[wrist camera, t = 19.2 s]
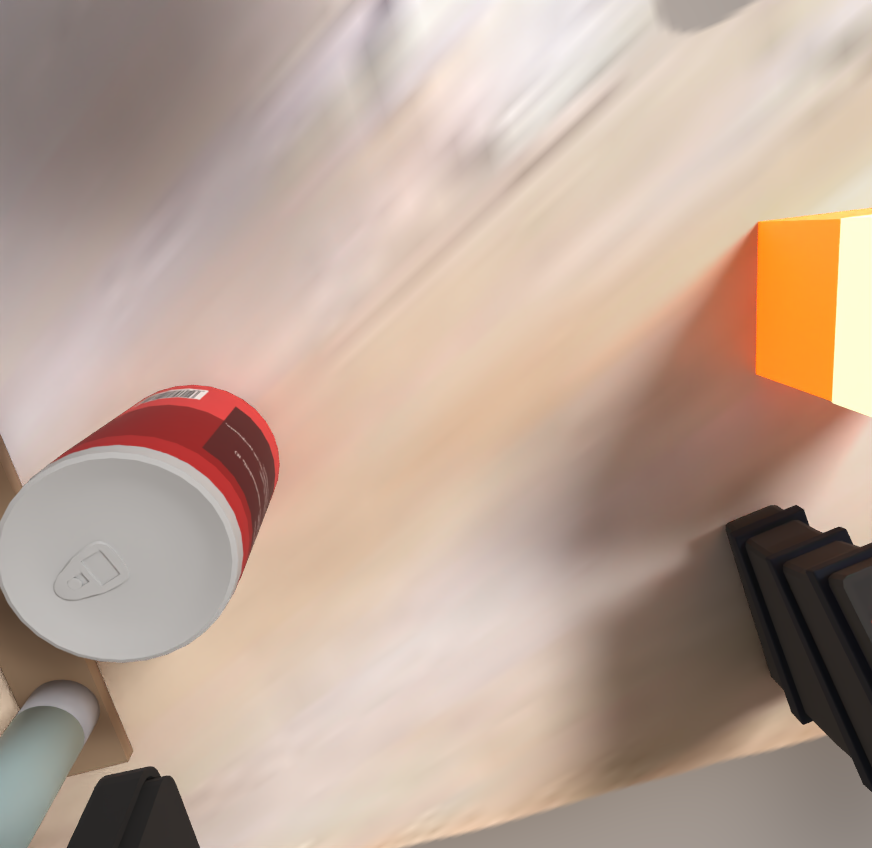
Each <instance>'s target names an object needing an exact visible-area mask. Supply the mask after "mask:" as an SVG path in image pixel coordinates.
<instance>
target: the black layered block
mask: <svg viewBox="0 0 872 848" xmlns="http://www.w3.org/2000/svg"><path fill="white" fill-rule="evenodd" d="M726 532H727V535H728V538H729V541H730V545H731V548H732V551H733V554H734V558H735V561H736V564H737V567H738V570H739V574H740V577H741V580H742V583H743V587H744V590H745V593H746V596H747V600H748V603H749V606H750V609H751V613H752V616H753V619H754V622H755V625H756V629H757V632H758V635H759V638H760V642H761V645H762V648H763V651H764V655H765V658H766V661H767V664H768V668H769V671H770V674H771V677H772V678H773V679H774V680H775V681H776V682H777V683H778V684H779V685H780V686H781V687H782V688H783V690H784V692H785V695H786V698H787V701H788V703H789V706H790V709H791V712H792V713H793V714H794V716H795V717H796V718H797V719H798V720H799V721H800V722H801V723H802V724H803V725H804V724H807V723H809V722H811V721H814V722H815V723H816V724H817V725H818V726H819V727H820V728H821V729H822V730H823V731H824V732H825V733H826V734H827V735H828V736H829V737H830V738H831V739H832V740H833V741H834V742H835V743H836V744H837V745H838V746H839V747H840V748H841V749H842V750H844V751H845V752H846V753H847V754H848V755H849V756H850V757H851V758H852V759H853V762H854V764H855V766H856V769H857V771H858V773H859V776H860V778H861V780H862V783H863V784H864V785H865V786H866V787H867V788H868V789H869V790H870V791H871V792H872V543H870V544H867V545H865V546H863V547H858V546H855V545H853V543H852V541H851V539H850V536H849V534H848V532H847V530H846V529H845V528H842V527H837V528H834V529H832V530H830V531H827V532H825V533H822V532H820V531H818V530H815V529H814V528H812V527H810V526H809V524H808V521H807V518H806V515H805V512H804V510H803V509H802V508H800V507H799V506H797V505H795V506H792V507H790V508H788V509H785V510H783V509H781V508H780V507H778V506H776V505H772V506H768V507H766V508H763V509H761V510H759V511H756V512H754V513H751V514H749V515H747V516H744V517H742V518H739V519H737V520H735V521H732V522H730V523H728V524H727V525H726Z"/></svg>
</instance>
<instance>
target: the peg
mask: <svg viewBox="0 0 872 848" xmlns="http://www.w3.org/2000/svg"><path fill="white" fill-rule="evenodd" d="M99 715H100V706H99V703H98V700H97V698H96V696H95V695H94V694H93V693H92V691H91V690H89V689H88V688H87V687H85V686H84V685H82V684H80V683H78V682H75V681H71V680H53V681H49V682H46V683H44V684H42V685H40V686H39V687H38V688H36V689H35V690H34V692H33V693H32V694H31V696H30V697H29V698H28V700H27V701H26V702H25V704H24V705H23V707H22V708H21V709H20V711H19V712H18V713H17V715H16V716H15V717H14V719H13V720H12V722H11V723H10V724H9V726H8V727H7V728H6V730H5V731H4V733H3V734H2V735H1V737H0V848H27V847H28V846H29V844H30V842H31V840H32V838H33V837H34V835H35V833H36V831H37V829H38V827H39V826H40V824H41V822H42V820H43V818H44V817H45V815H46V813H47V811H48V809H49V808H50V806H51V804H52V802H53V800H54V799H55V797H56V795H57V793H58V791H59V790H60V788H61V786H62V784H63V782H64V781H65V779H66V777H67V775H68V773H69V771H70V770H71V768H72V766H73V764H74V762H75V761H76V759H77V757H78V755H79V753H80V752H81V750H82V748H83V746H84V744H85V743H86V741H87V739H88V737H89V735H90V734H91V732H92V730H93V728H94V726H95V725H96V723H97V721H98V718H99Z"/></svg>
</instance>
